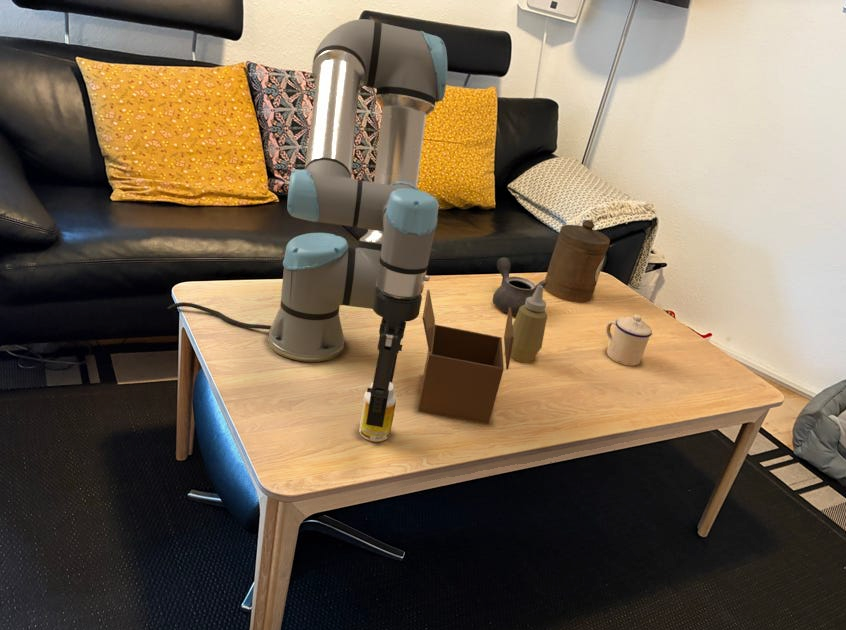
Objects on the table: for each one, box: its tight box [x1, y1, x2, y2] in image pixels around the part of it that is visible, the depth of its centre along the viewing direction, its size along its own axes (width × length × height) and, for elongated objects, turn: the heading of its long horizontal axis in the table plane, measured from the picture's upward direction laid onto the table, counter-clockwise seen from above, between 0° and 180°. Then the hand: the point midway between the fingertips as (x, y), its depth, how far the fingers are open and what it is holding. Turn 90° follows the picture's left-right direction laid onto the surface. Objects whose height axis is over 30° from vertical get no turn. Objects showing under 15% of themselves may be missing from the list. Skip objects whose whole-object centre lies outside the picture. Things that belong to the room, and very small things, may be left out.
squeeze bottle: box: [510, 285, 548, 363], centre depth 153 cm, size 8×8×18 cm
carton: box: [417, 307, 514, 425], centre depth 130 cm, size 15×13×19 cm
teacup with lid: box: [605, 314, 653, 367], centre depth 167 cm, size 12×9×12 cm
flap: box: [421, 289, 436, 352], centre depth 126 cm, size 7×13×1 cm
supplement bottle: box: [358, 381, 397, 443], centre depth 117 cm, size 6×6×10 cm
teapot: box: [492, 257, 547, 316], centre depth 181 cm, size 19×15×10 cm
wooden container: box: [544, 219, 611, 303], centre depth 195 cm, size 15×15×22 cm
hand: (379, 402), depth 116 cm, fingers open, 13 cm apart
